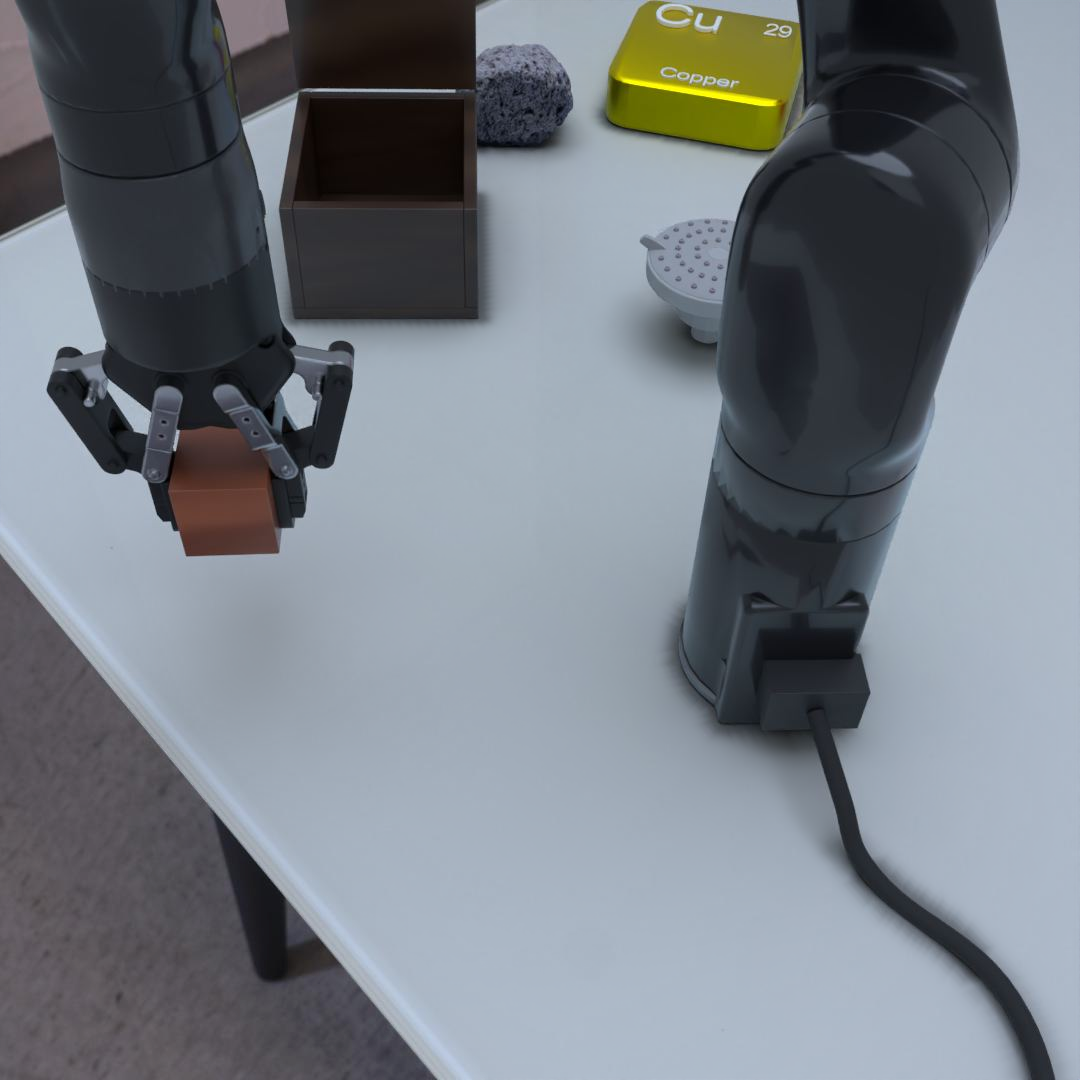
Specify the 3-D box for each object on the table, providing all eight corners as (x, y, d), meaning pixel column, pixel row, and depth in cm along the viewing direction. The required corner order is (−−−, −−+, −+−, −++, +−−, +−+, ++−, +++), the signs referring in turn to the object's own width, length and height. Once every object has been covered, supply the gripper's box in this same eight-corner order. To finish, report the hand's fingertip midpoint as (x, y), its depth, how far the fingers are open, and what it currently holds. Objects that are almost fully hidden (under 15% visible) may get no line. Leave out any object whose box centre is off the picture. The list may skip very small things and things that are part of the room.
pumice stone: (481, 117, 114) (433, 142, 106) (489, 24, 110) (439, 42, 102) (593, 141, 111) (552, 168, 103) (605, 46, 107) (563, 67, 99)
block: (279, 554, 65) (266, 488, 62) (185, 557, 65) (167, 491, 61) (286, 488, 68) (274, 422, 65) (196, 491, 68) (180, 425, 64)
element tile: (599, 125, 109) (603, 71, 106) (639, 42, 119) (643, -10, 115) (778, 156, 107) (788, 102, 103) (803, 68, 116) (813, 16, 113)
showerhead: (650, 195, 90) (797, 216, 88) (641, 282, 95) (779, 302, 94) (629, 277, 83) (786, 300, 82) (620, 365, 89) (768, 387, 88)
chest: (478, 318, 92) (477, 209, 85) (293, 318, 91) (278, 208, 84) (477, 198, 101) (476, 92, 95) (311, 197, 101) (298, 90, 94)
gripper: (-29, 290, 51) (79, 578, 63) (343, 281, 51) (377, 569, 64) (13, 183, 56) (105, 470, 68) (351, 176, 56) (381, 462, 69)
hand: (236, 516), depth 66 cm, fingers closed on block, 4 cm apart
